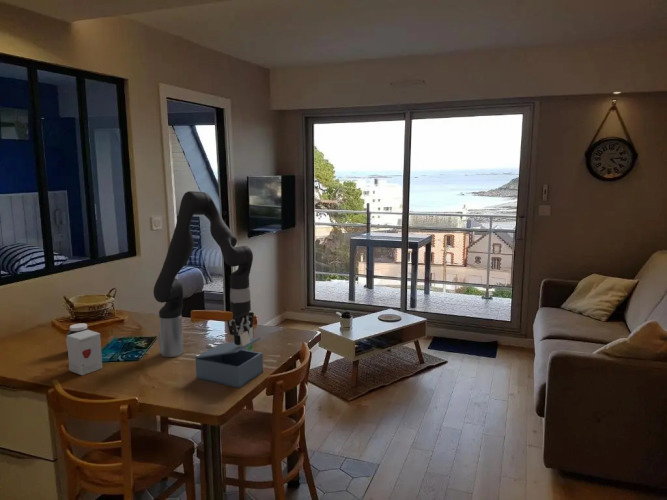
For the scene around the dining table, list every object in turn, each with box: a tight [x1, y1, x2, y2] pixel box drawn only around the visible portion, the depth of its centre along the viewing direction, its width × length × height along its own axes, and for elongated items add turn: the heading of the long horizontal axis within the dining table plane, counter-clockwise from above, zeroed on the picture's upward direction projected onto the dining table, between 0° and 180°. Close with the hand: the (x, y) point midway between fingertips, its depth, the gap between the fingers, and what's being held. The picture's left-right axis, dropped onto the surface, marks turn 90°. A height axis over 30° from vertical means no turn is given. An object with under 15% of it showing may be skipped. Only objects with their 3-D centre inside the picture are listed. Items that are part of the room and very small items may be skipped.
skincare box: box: [232, 321, 254, 351], centre depth 210 cm, size 8×7×16 cm
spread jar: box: [65, 322, 90, 350], centre depth 209 cm, size 12×11×12 cm
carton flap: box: [194, 331, 261, 359], centre depth 185 cm, size 20×16×5 cm
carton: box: [195, 349, 264, 389], centre depth 186 cm, size 20×16×8 cm
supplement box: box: [66, 329, 103, 376], centre depth 190 cm, size 9×9×15 cm
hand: (241, 342), depth 182 cm, fingers closed on carton flap, 5 cm apart
